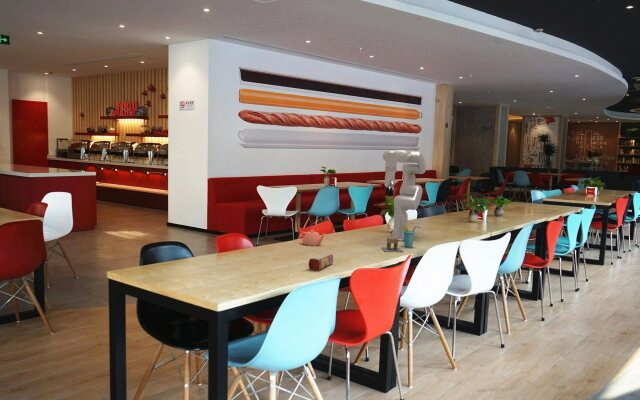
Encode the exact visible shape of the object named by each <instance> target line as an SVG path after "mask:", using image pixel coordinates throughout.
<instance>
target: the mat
mask: <svg viewBox="0 0 640 400" xmlns="http://www.w3.org/2000/svg"><path fill="white" fill-rule="evenodd" d="M381 248H382V251H383V252H384V253H385V252H386V253H387V252H388V253H404V250H402V249H401V248H400V247H397V250H395V249H394V247H391V250H388V249H387V247H384V246H383V247H380V249H381Z"/></svg>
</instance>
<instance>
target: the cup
mask: <svg viewBox="0 0 640 400" xmlns="http://www.w3.org/2000/svg"><path fill="white" fill-rule="evenodd" d="M416 228H418V229H421V227H420V226H418V225H414V227H413V230H409V227H408V225H407V226H406V225H405V226H403V232H404V241H403V244H404V245H403V246H404V248H405V249H412V248H413V245H414V239H415V234H416V231H415V230H416Z"/></svg>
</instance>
